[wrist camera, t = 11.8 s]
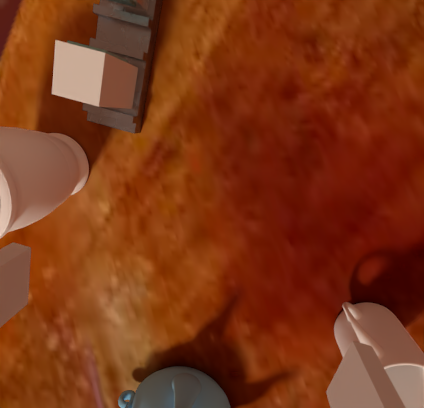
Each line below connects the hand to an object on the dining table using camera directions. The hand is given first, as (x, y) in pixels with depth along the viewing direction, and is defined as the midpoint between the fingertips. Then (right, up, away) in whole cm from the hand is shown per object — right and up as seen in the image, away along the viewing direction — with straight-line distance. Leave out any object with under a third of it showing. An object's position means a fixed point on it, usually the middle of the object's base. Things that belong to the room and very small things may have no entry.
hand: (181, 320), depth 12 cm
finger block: (-10, +18, +21) cm, 30 cm away
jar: (-19, +10, +28) cm, 35 cm away
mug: (+22, -11, +29) cm, 38 cm away
